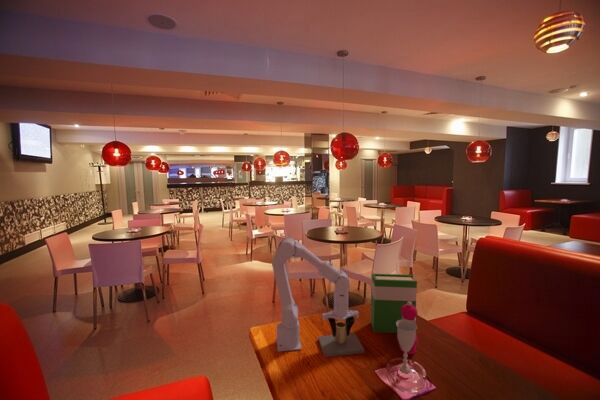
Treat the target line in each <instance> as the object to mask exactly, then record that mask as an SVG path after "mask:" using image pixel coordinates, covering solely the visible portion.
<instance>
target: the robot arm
mask: <svg viewBox="0 0 600 400" xmlns="http://www.w3.org/2000/svg"><path fill="white" fill-rule="evenodd" d="M293 256H294V257H293ZM292 257H293V258H294V259H296V258H297V259H298V258H300V259H301V258H302V259H304V260H305V261H306V262H308V263H309V264H310V265H312V266H314V267H315V268H317V272H318V274H319V275H321V276H323V278H325V279H326V280H328V281H329V282H330V283H332V284H334V291H333V310H332V311H328V312H326V313H323V312H322V319H323V321H327V320H328V323H329V325H330V328H331V335H333V337H335V328H336V319H338V320H340V321H345V323H346V324H347V325H348V326H347V336H349V334H350V332H351V330H352V328H353V325H354V324H355V321H356V319H357V318H360V313H359V311H358V310H351V309H350V310H349V288H350V286H351V283H350V281H349V280H350V279H349V277H348V274H347V273H345V271H344V270H341V269H339V268H337V267H336V266H334V264H333V262H331V261H328V260H321V259H320V258H319V257H318V256H316V254H315V253H313V252H312V251H310V250H309V249H308V248H307V247H306V246H305V245H303V244H302V243H301V242H299V241H298V240H295V238H293V237H292V236H286V237H284V238H282V240H281V241H280V242H279V244H278V246H277V248H276V251H275V252H274V255H273V257H272V260H271V266H272V271H273V275H274V278H275V279H274V280H275V283H276V288H277V292H278V295H279V299H280V304H281V315H282V317H281V322H280V323H278V324H276V338H275V343H276V346H277V347H276V348H277V349H276V350H277V352H287V351H298V350H299V351H300V350H302V345H301V340H300V321H299V320H298V318H299V311H300V309H299V307H298V306H297V304H296V303H295V299H294V298H293V294H292V289H291V286H290V282H289V278H288V272H287V269H286V262H287V261H288V260H290V259H291V258H292ZM355 318H356V319H355Z"/></svg>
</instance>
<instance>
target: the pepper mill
mask: <svg viewBox="0 0 600 400" xmlns="http://www.w3.org/2000/svg"><path fill="white" fill-rule="evenodd" d="M401 313H402V315H403V316H402V320H403V319H405V320H410V321H412V322H414V323H416V320H417V317H418V309H417V307H416V308H415V307H414V306H413V305H412V303H411V302H410V301H408V302H407V304H406V305H403V306H402V308H401ZM418 342H419V340H418V335H417V333H416V334H415V342H414V344H413V346H412V348H411V349H410V351H408V352H407V355H414V354H416V352H417V346H418ZM398 344H399V343H398ZM398 348H399V351H401V352H402V353H404V351H403V350H402V349H401V346H400V344H399V347H398Z"/></svg>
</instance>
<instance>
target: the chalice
mask: <svg viewBox="0 0 600 400" xmlns="http://www.w3.org/2000/svg"><path fill="white" fill-rule="evenodd" d="M396 325H397V327H398V328H397V333H396V339H397V341H398V344H400V346H401V349H402V350H403V351H404V352H403V354H402V357H403V359H402V362H403V364H402V363H401V364H400V365H399V366H400V367H399V366H398V368H400V371H401V372H402V373H405V374H408V373H410V370H411V368H410V367H409V366H408V365H407V363H408V356H409V354H407V352H408V351H410V349H411V348H412V346H413V344H414V342H415V334H416V335H417V331H416V330H418V325H417V324H416V322H415V323H414V322H412V321H410V320H405V319H403V320H398V321H397V322H396Z"/></svg>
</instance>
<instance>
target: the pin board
mask: <svg viewBox="0 0 600 400" xmlns="http://www.w3.org/2000/svg"><path fill="white" fill-rule="evenodd" d="M317 337H318V338H317V339H318V342H319V346H320V349H321V351H322V354H323V357H324V358H326V357H337V356H345V355H346V356H348V355H355V354H356V355H358V354H365V348H364V346H363V345H362V343H361V341H360V340H359V338H358V336H357V335H356V333H355V332H351V333H350V332H349V336H347V340H346V341H345V342H341V343H340V342H337V341H335V339H334V337H333V335H332V334H330V335H320V336H319V335H318V336H317Z"/></svg>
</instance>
